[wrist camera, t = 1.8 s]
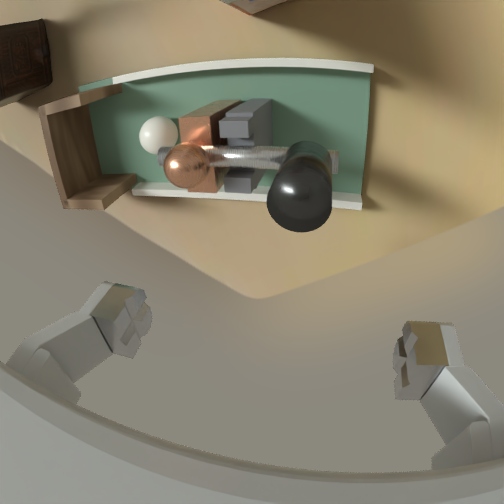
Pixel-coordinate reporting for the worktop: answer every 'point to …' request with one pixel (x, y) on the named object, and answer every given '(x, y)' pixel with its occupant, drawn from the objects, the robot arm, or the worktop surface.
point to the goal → (80, 152)
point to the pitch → (240, 119)
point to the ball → (158, 134)
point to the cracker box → (252, 5)
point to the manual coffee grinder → (23, 60)
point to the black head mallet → (264, 157)
